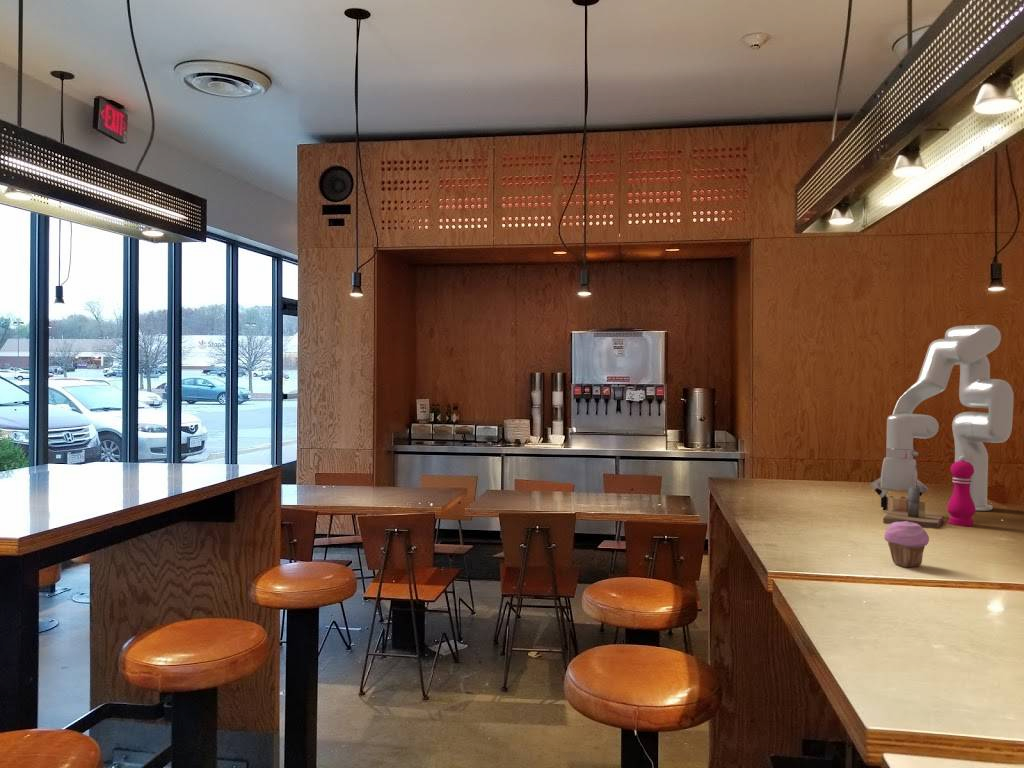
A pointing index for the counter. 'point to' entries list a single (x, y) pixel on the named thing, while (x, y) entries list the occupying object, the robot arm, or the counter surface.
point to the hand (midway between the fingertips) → (898, 510)
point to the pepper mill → (961, 494)
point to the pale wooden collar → (896, 504)
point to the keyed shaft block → (914, 512)
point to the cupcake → (906, 543)
